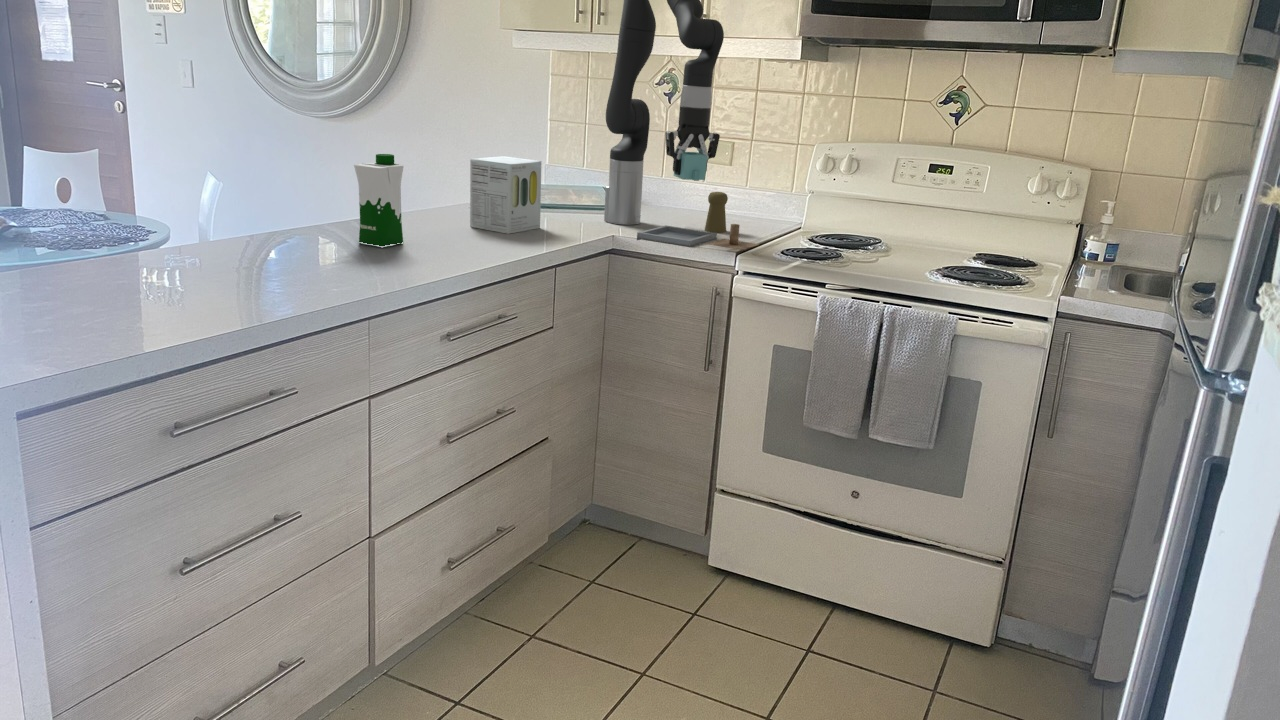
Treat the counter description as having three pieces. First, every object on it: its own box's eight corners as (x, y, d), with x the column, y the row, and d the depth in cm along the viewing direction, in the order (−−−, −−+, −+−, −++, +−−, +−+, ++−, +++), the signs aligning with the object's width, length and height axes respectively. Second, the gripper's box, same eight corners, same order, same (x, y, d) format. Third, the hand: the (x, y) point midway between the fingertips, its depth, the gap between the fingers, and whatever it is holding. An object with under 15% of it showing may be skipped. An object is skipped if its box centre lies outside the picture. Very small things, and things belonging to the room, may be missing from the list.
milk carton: (409, 244, 217) (407, 156, 210) (381, 249, 209) (378, 158, 203) (380, 238, 220) (377, 152, 214) (352, 244, 213) (348, 154, 207)
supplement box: (509, 234, 235) (509, 163, 229) (469, 227, 241) (469, 158, 236) (541, 228, 246) (542, 160, 240) (502, 221, 252) (503, 155, 247)
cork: (718, 235, 249) (721, 194, 245) (699, 232, 252) (702, 191, 249) (730, 233, 253) (734, 192, 250) (711, 230, 257) (715, 189, 253)
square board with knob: (706, 246, 234) (708, 224, 232) (724, 240, 242) (725, 219, 240) (743, 252, 229) (745, 229, 227) (759, 246, 237) (761, 224, 236)
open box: (673, 175, 235) (675, 151, 233) (695, 176, 238) (697, 152, 236) (685, 180, 229) (687, 155, 227) (707, 180, 231) (710, 156, 229)
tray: (636, 240, 236) (637, 232, 236) (665, 232, 249) (666, 225, 248) (689, 249, 229) (689, 240, 229) (716, 240, 242) (716, 233, 241)
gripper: (715, 105, 234) (709, 173, 239) (662, 102, 229) (657, 171, 234) (728, 108, 227) (721, 177, 233) (674, 105, 222) (668, 176, 228)
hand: (689, 174), depth 234 cm, fingers closed on open box, 6 cm apart
